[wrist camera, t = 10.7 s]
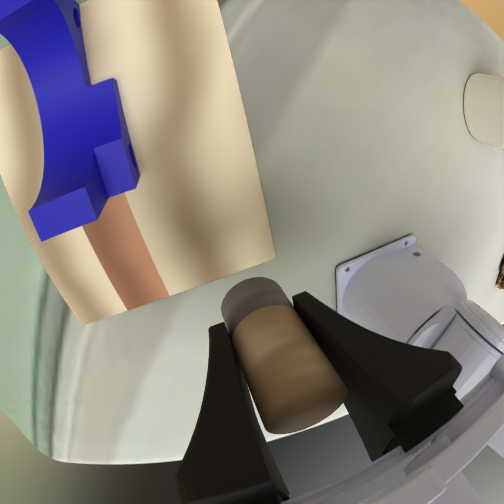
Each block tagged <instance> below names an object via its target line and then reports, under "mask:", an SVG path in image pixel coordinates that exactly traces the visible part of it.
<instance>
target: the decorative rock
mask: <svg viewBox="0 0 504 504" xmlns="http://www.w3.org/2000/svg"><path fill="white" fill-rule="evenodd" d="M497 283H498V285H499V286H498V287H497V288H499V289H504V264H503V265H502V270H501V272H500V274H499V277H498V279H497Z"/></svg>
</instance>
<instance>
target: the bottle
mask: <svg viewBox="0 0 504 504" xmlns="http://www.w3.org/2000/svg"><path fill="white" fill-rule="evenodd" d="M464 114H465V120H466V124H467V127H468V129H469V131H470V133H471V135H472V136H473V137H474V138H475V139H476V140H478V141H481V142H483V143H486V144H489V145H492V146H494V147H497V148H500V149H503V150H504V77H499V76H493V75H487V74H480V73H476V74H473V75H471V77H470V78H469V79H468V81H467V84H466V87H465V92H464Z"/></svg>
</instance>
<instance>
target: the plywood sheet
mask: <svg viewBox="0 0 504 504" xmlns="http://www.w3.org/2000/svg"><path fill="white" fill-rule="evenodd" d="M79 7H80V16H81V25H82V33H83V40H84V47H85V53H86V59H87V65H88V70H89V75H90V80H91V85H94V84H96V83H99V82H101V81H104V80H107V79H110V78H114V79H116V80H117V84H118V89H119V94H120V98H121V103H122V107H123V111H124V115H125V119H126V123H127V127H128V131H129V135H130V139H131V143H132V147H133V150H134V154H135V158H136V161H137V165H138V168H139V172H140V178H139V181H138V184H137V188H136V189H133V190H130V191H127V192H124V193H121V194H119V195H116V196H113V197H110V198H109V199H108V201H107V203H106V204H105V206H104V208H103V210H102V212H101V214H100V216H99V218H98V220H97V221H94V222H91V223H88V224H86V225H83V226H80V227H78V228H75V229H73V230H70V231H67V232H65V233H62V234H60V235H57V236H55V237H52V238H50V239H47V240H45V241H43V242H41V240H40V238H39V236H38V234H37V231H36V229H35V227H34V225H33V222H32V220H31V217H30V215H29V213H28V211H29V210H30V209H31V208H32V206H33V205H34V203H35V201H36V199H37V197H38V194H39V191H40V188H41V184H42V178H43V170H44V145H43V134H42V127H41V120H40V115H39V110H38V106H37V102H36V98H35V94H34V91H33V88H32V85H31V82H30V79H29V76H28V74H27V72H26V69H25V67H24V65H23V63H22V61H21V59H20V57H19V55H18V54H17V52H16V50H15V49H14V48H13V46H12V45H11V44H10V43H9V44H8V45H6V46H5V47H4V48H2V49H1V50H0V174H1V177H2V179H3V182H4V184H5V187H6V190H7V192H8V194H9V197H10V199H11V202H12V204H13V206H14V209H15V211H16V213H17V215H18V217H19V220H20V222H21V224H22V226H23V228H24V230H25V232H26V234H27V236H28V238H29V240H30V242H31V244H32V246H33V248H34V249H35V251H36V253H37V255H38V257H39V259H40V260H41V262H42V264H43V266H44V267H45V269H46V271H47V272H48V274H49V276H50V277H51V279H52V281H53V282H54V284H55V286H56V287H57V289H58V290H59V292H60V294H61V295H62V297H63V298H64V300H65V301H66V303H67V304H68V306H69V307H70V309H71V310H72V311H73V313H74V314H75V316H76V317H77V319H78V320H79V321H80V323H81V324H82V326H83V325H86V324H89V323H92V322H95V321H98V320H101V319H104V318H107V317H110V316H113V315H116V314H119V313H121V312H124V311H127V310H130V309H133V308H136V307H139V306H142V305H144V304H147V303H150V302H153V301H156V300H159V299H162V298H165V297H168V296H171V295H174V294H177V293H180V292H183V291H185V290H188V289H191V288H194V287H197V286H200V285H203V284H205V283H208V282H211V281H214V280H217V279H220V278H222V277H225V276H228V275H231V274H234V273H236V272H239V271H242V270H245V269H248V268H250V267H253V266H256V265H259V264H261V263H264V262H267V261H270V260H273V259H275V258H276V255H275V250H274V245H273V240H272V236H271V231H270V226H269V221H268V216H267V211H266V207H265V202H264V197H263V192H262V188H261V183H260V178H259V174H258V169H257V165H256V160H255V156H254V151H253V147H252V142H251V138H250V133H249V129H248V124H247V120H246V116H245V111H244V107H243V103H242V99H241V94H240V90H239V86H238V82H237V77H236V73H235V69H234V65H233V61H232V57H231V53H230V49H229V45H228V41H227V37H226V33H225V29H224V25H223V21H222V17H221V13H220V10H219V6H218V2H217V0H89V1H86V2H84V3H82V4H79Z"/></svg>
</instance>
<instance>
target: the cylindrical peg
mask: <svg viewBox="0 0 504 504" xmlns="http://www.w3.org/2000/svg"><path fill="white" fill-rule="evenodd" d="M221 312H222V316H223V319H224V321H225V324H226V327H227V330H228V333H229V336H230V338H231V341H232V344H233V347H234V349H235V352H236V355H237V358H238V360H239V363H240V366H241V369H242V371H243V374H244V377H245V379H246V382H247V384H248V387H249V390H250V392H251V395H252V397H253V400H254V403H255V405H256V408H257V410H258V413H259V415H260V418H261V420H262V423H263V425H264V428H265V429H266V431H268V432H270V433H273V434H287V433H293V432H297V431H300V430H303V429H306V428H308V427H310V426H312V425H315V424H317V423H318V422H320V421H322V420H324V419H325V418H327V417H328V416H329V415H331V414H332V413H333V412H334V411H336V410H337V409H338V408H339V407H340V406H341V404H342V403H343V402H344V400H345V399H346V397H347V394H348V390H347V387H346V386H345V384H344V383H343V381H342V380H341V378H340V377H339V375H338V374H337V372H336V370H335V369H334V367H333V366H332V364H331V363H330V361H329V360H328V358H327V357H326V355H325V354H324V352H323V351H322V349H321V348H320V346H319V345H318V343H317V342H316V340H315V339H314V337H313V336H312V334H311V333H310V331H309V329H308V328H307V326H306V325H305V323H304V322H303V320H302V319H301V317H300V316H299V314H298V313H297V311H296V310H295V308H294V307H293V305H292V304H291V302H290V301H289V299H288V298H287V296H286V295H285V293H284V292H283V290H282V289H281V287H280V286H279V285H278V284H277V283H276V282H275V281H273V280H271V279H268V278H264V277H256V278H250V279H247V280H244V281H242V282H240V283H238V284H237V285H235V286H234V287H233V288H231V289H230V290H229V292H228V293H227V294H226V295H225V297H224V299H223V302H222V306H221Z"/></svg>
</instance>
